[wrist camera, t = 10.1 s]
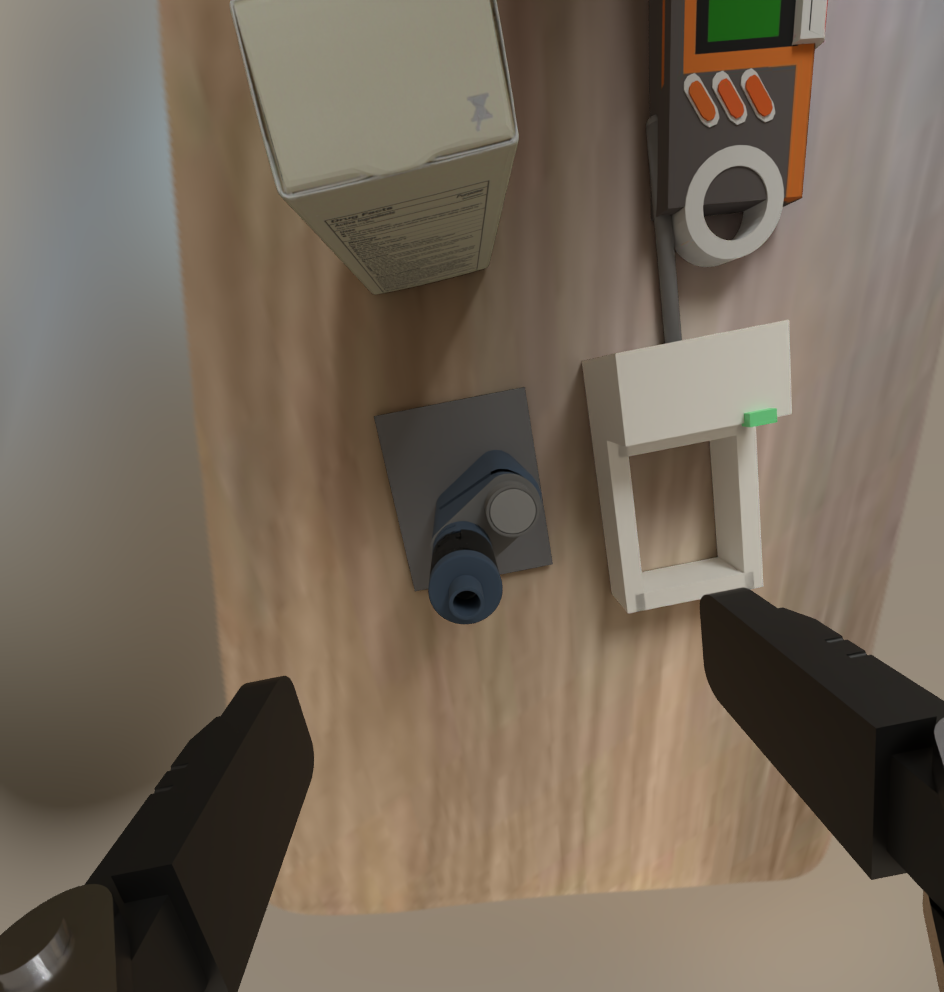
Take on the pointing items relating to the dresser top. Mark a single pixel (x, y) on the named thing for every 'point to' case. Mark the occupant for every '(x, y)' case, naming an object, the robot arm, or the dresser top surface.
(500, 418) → the mat
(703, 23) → the electronic device
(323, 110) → the skincare box
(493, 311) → the dresser top surface
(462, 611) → the vaping device
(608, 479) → the dock
